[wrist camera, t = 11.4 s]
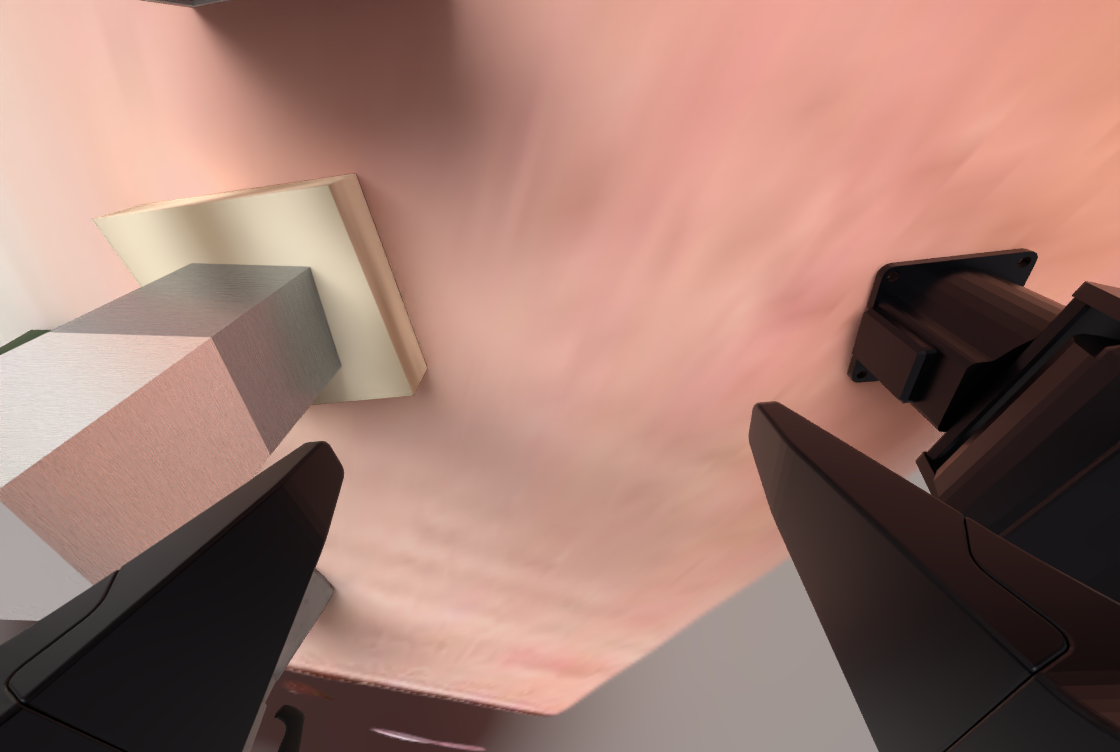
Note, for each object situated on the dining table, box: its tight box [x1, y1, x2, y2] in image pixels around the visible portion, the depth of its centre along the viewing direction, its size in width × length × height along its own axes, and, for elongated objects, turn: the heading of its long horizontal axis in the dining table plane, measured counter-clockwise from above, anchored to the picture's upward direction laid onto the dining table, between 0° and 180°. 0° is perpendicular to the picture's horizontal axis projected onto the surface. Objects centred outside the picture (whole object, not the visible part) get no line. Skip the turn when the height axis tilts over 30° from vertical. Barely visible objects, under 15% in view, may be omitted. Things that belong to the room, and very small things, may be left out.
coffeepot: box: [243, 570, 333, 752], centre depth 30 cm, size 15×9×18 cm, turn 37°
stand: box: [92, 173, 427, 405], centre depth 20 cm, size 10×10×2 cm
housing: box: [0, 263, 342, 621], centre depth 14 cm, size 5×5×12 cm
